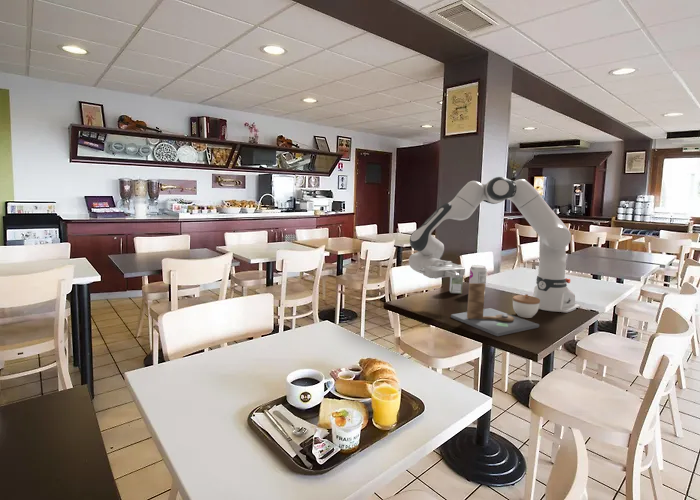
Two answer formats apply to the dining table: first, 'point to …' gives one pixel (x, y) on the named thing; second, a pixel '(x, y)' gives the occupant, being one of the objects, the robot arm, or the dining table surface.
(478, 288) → the tuning key
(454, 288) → the syrup box
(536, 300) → the lidded jar
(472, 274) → the supplement can
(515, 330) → the board
